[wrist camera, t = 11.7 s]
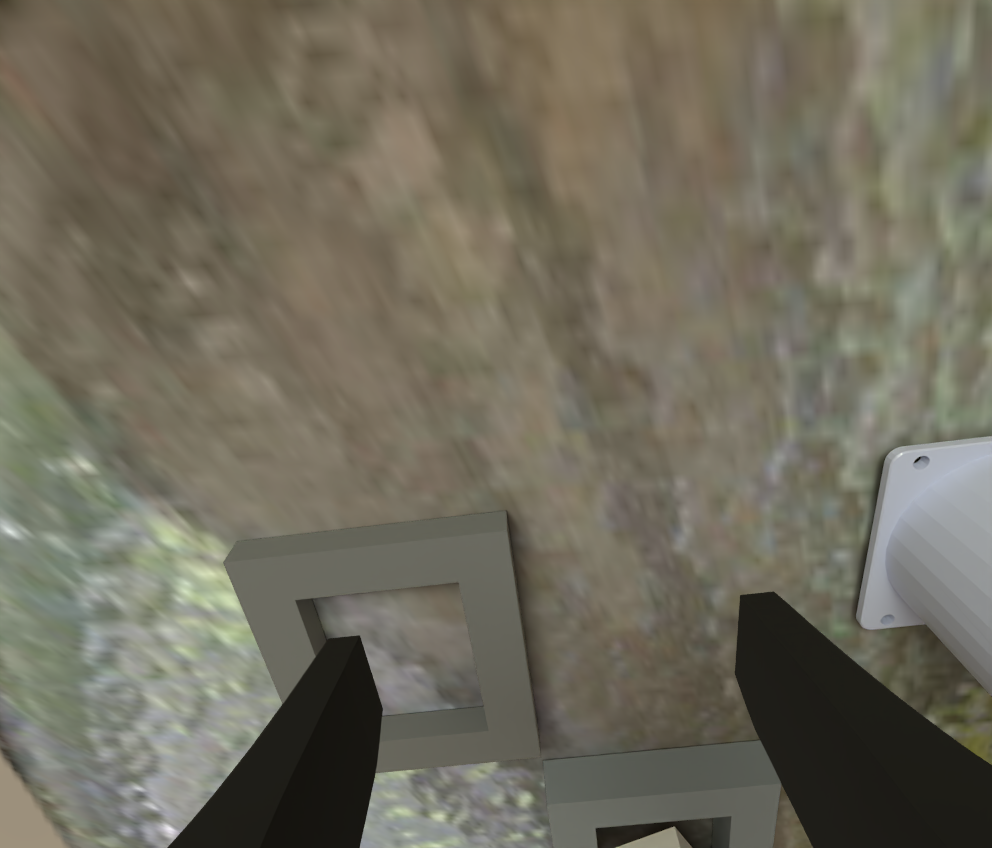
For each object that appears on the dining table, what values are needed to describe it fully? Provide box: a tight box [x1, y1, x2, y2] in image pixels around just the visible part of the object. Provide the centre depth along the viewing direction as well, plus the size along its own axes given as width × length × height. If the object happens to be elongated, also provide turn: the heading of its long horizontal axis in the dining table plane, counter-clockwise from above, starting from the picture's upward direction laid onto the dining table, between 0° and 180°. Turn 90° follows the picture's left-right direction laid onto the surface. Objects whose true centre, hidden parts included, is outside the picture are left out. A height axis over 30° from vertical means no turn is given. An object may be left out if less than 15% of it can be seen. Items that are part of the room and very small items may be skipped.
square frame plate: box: [223, 511, 541, 773], centre depth 23 cm, size 10×12×1 cm
